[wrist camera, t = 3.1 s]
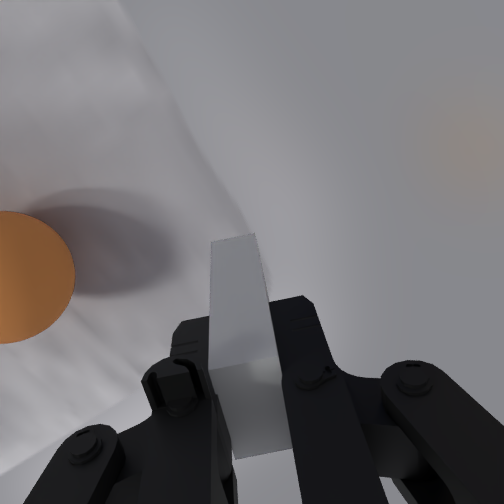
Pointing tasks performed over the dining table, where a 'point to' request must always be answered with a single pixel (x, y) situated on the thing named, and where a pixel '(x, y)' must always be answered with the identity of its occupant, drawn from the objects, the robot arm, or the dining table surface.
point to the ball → (31, 276)
